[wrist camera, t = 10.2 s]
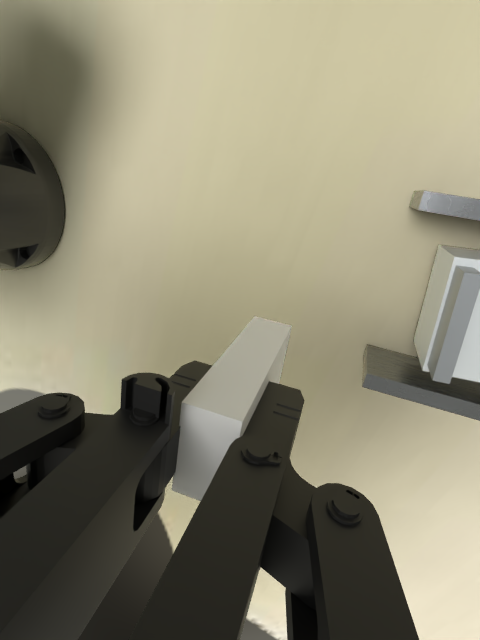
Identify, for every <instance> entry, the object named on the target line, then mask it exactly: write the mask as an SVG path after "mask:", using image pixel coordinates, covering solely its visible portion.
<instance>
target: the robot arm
mask: <svg viewBox="0 0 480 640" xmlns="http://www.w3.org/2000/svg"><path fill="white" fill-rule="evenodd" d="M63 224H64V199H63V193H62V188H61V185H60V181H59V178H58V175H57V173H56V170H55V168H54V166H53V164H52V162H51V160H50V159H49V157H48V155H47V154H46V152H45V151H44V150H43V148H42V147H41V146H40V144H39V143H38V142H37V141H36V140H35V139H34V138H33V137H32V136H31V135H29V134H28V133H27V132H26V131H24V130H23V129H21V128H20V127H18V126H16V125H14V124H11V123H8V122H5V121H0V270H16V269H21V268H25V267H30V266H34V265H37V264H39V263H41V262H42V261H44V260H45V259H46V258H48V257H49V256H50V255H51V253H52V252H53V251H54V249H55V248H56V246H57V244H58V242H59V240H60V237H61V234H62V230H63ZM291 328H292V325H288V324H284V323H280V322H276V321H272V320H268V319H265V318H261V317H257V316H254V317H253V318H252V320H251V321H250V322H249V323H248V324H247V326H246V327H245V328H244V329H243V330H242V331H241V333H240V334H239V335H238V336H237V337H236V339H235V340H234V341H233V342H232V343H231V344H230V346H229V347H228V348H227V349H226V350H225V352H224V353H223V354H222V355H221V356H220V357H219V359H218V360H217V361H216V362H215V363H214V365H213V366H211V365H208V364H205V363H201V362H198V361H193V362H190V363H188V364H185V365H183V366H181V367H180V368H179V369H178V370H177V371H176V372H175V374H174V375H172V376H171V377H170V378H167V377H164V376H162V375H160V374H154V373H137V374H133V375H129V376H127V377H125V378H124V379H122V387H121V408H120V409H119V410H118V411H117V412H116V413H115V414H114V415H103V414H93V413H85V407H84V402H83V401H82V400H81V399H80V398H79V397H78V396H75V395H72V394H69V393H51V394H46V395H43V396H40V397H37V398H35V399H33V400H30V401H28V402H26V403H23V404H21V405H19V406H16V407H14V408H12V409H10V410H7V411H5V412H3V413H0V640H78V638H79V636H80V635H81V633H82V632H83V630H84V628H85V627H86V625H87V624H88V622H89V621H90V619H91V617H92V616H93V614H94V613H95V611H96V609H97V608H98V606H99V605H100V603H101V601H102V600H103V598H104V596H105V595H106V594H107V592H108V590H109V588H110V587H111V586H112V584H113V582H114V581H115V579H116V577H117V576H118V574H119V573H120V571H121V570H122V568H123V566H124V565H125V563H126V562H127V560H128V559H129V557H130V555H131V554H132V552H133V551H134V549H135V547H136V546H137V544H138V543H139V541H140V539H141V538H142V536H143V535H144V533H145V531H146V530H147V528H148V527H149V525H150V524H151V522H152V520H153V519H154V517H155V515H156V514H157V512H158V511H159V509H160V508H161V506H162V503H163V500H164V494H165V487H166V486H167V484H168V483H169V481H170V480H171V478H172V477H173V485H172V490H173V491H175V492H178V493H181V494H183V495H186V496H188V497H191V498H194V499H196V500H199V501H201V502H200V504H199V506H198V508H197V509H196V511H195V513H194V515H193V517H192V519H191V521H190V523H189V525H188V527H187V529H186V531H185V532H184V534H183V536H182V538H181V540H180V542H179V544H178V546H177V548H176V550H175V552H174V554H173V555H172V558H171V559H170V562H169V563H168V565H167V567H166V569H165V571H164V573H163V575H162V577H161V578H160V580H159V583H158V584H157V586H156V588H155V590H154V592H153V594H152V596H151V598H150V599H149V602H148V603H147V605H146V607H145V609H144V611H143V613H142V615H141V617H140V619H139V621H138V622H137V624H136V626H135V628H134V630H133V632H132V634H131V636H130V638H129V640H240V638H241V634H242V631H243V627H244V623H245V620H246V616H247V612H248V609H249V605H250V601H251V598H252V594H253V591H254V587H255V583H256V580H257V576H258V572H259V570H260V567H261V568H263V569H264V570H265V571H266V572H268V573H269V574H270V575H271V576H272V577H274V578H275V579H276V580H277V581H278V582H280V583H281V584H282V585H283V586H284V587H286V591H285V596H286V617H287V639H288V640H419V638H418V635H417V632H416V629H415V626H414V622H413V619H412V616H411V613H410V610H409V607H408V604H407V601H406V598H405V595H404V592H403V589H402V586H401V583H400V580H399V577H398V574H397V571H396V568H395V565H394V561H393V558H392V555H391V552H390V549H389V546H388V543H387V540H386V537H385V534H384V531H383V528H382V525H381V522H380V519H379V516H378V514H377V512H376V510H375V508H374V506H373V504H372V503H371V502H370V501H369V500H368V499H367V498H366V497H365V496H364V495H363V494H361V493H360V492H358V491H356V490H355V489H353V488H351V487H349V486H345V485H342V484H338V483H327V484H324V485H322V486H319V487H318V488H315V487H314V486H312V485H311V484H309V483H308V482H306V481H305V480H304V479H302V478H301V477H300V476H299V475H298V474H297V473H296V471H295V470H294V468H293V467H292V465H291V461H290V454H291V450H292V447H293V443H294V439H295V435H296V431H297V427H298V423H299V419H300V416H301V412H302V408H303V404H304V399H303V396H302V394H301V391H300V390H298V389H294V388H291V387H288V386H284V385H281V384H279V383H280V378H281V374H282V369H283V365H284V360H285V355H286V351H287V346H288V342H289V337H290V333H291ZM24 466H26V469H27V474H26V475H25V476H23V477H20V478H18V479H14V476H13V472H15V471H17V470H18V469H20V468H22V467H24ZM173 475H174V476H173Z"/></svg>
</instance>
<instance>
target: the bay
mask: <svg viewBox="0 0 480 640" xmlns="http://www.w3.org/2000/svg"><path fill="white" fill-rule="evenodd" d="M409 207H411V208H414V209H416V210H420V211H426V212H431V213H437V214H443V215H449V216H455V217H461V218H466V219H472V220H478V221H480V199H474V198H467V197H461V196H455V195H449V194H442V193H436V192H430V191H414V193H413V196H412V200H411V203H410V206H409ZM362 387H364V388H368V389H371V390H375V391H378V392H382V393H385V394H389V395H392V396H396V397H399V398H403V399H406V400H410V401H413V402H417V403H420V404H424V405H427V406H431V407H434V408H437V409H441V410H444V411H448V412H451V413H455V414H458V415H462V416H465V417H469V418H472V419H476V420H479V421H480V382H475V381H471V380H466V379H461V378H456V377H452V378H451V382H450V384H447V383H442V382H437V381H433V380H432V378H431V375H430V372H426V371H422V368H421V364H420V361H419V358H417V357H413V356H410V355H406V354H402V353H398V352H394V351H390V350H386V349H383V348H379V347H375V346H371V345H367V347H366V350H365V353H364V357H363V384H362Z"/></svg>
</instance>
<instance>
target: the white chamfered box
mask: <svg viewBox="0 0 480 640" xmlns="http://www.w3.org/2000/svg"><path fill="white" fill-rule="evenodd" d="M413 341H414V344H415V347H416V351H417V354H418V358H419V361H420V364H421V368H422V371H426V372H430V375H431V378H432V380H433V381H437V382H442V383H447V384H450V382H451V378H452V377H456V378H461V379H466V380H471V381H475V382H480V250H478V249H469V248H461V247H453V246H444V245H439V246H438V250H437V253H436V257H435V261H434V265H433V268H432V272H431V276H430V280H429V283H428V287H427V291H426V295H425V299H424V302H423V306H422V310H421V314H420V317H419V321H418V325H417V329H416V332H415V336H414V340H413Z"/></svg>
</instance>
